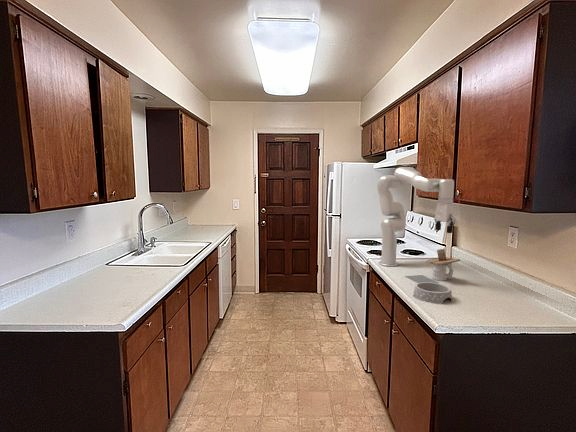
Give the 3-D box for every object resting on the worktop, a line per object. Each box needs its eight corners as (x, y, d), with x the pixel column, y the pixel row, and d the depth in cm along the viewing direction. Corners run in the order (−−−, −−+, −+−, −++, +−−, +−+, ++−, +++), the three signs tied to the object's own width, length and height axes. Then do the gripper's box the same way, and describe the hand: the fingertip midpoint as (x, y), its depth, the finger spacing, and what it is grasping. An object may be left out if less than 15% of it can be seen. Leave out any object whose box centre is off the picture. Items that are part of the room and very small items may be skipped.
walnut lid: (426, 262, 201) (424, 251, 201) (443, 257, 203) (441, 246, 203) (441, 265, 187) (439, 253, 187) (460, 260, 190) (458, 248, 189)
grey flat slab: (404, 277, 201) (404, 276, 201) (422, 276, 204) (422, 274, 204) (420, 286, 186) (420, 284, 186) (439, 284, 189) (439, 283, 188)
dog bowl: (459, 299, 167) (460, 288, 166) (434, 306, 158) (435, 295, 157) (430, 289, 181) (430, 279, 181) (405, 295, 173) (406, 284, 172)
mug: (429, 278, 200) (430, 258, 198) (448, 278, 200) (449, 258, 199) (435, 282, 192) (436, 261, 191) (455, 282, 193) (457, 261, 192)
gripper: (429, 200, 199) (428, 229, 201) (450, 202, 182) (448, 234, 185) (441, 200, 201) (439, 228, 203) (462, 202, 184) (460, 233, 186)
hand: (443, 231), depth 194 cm, fingers open, 9 cm apart
